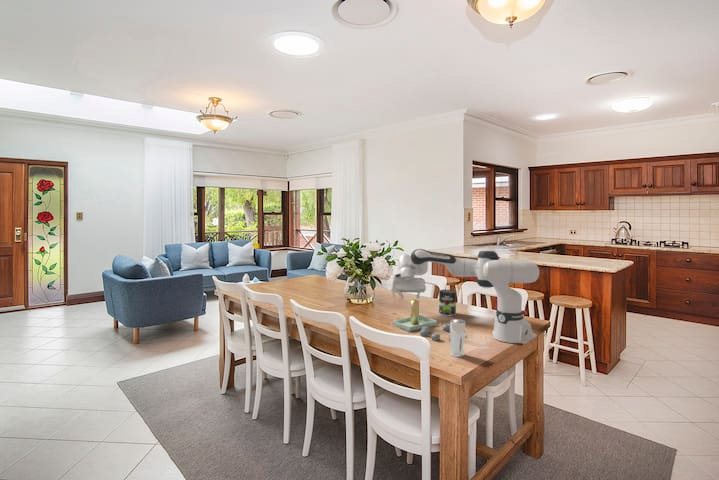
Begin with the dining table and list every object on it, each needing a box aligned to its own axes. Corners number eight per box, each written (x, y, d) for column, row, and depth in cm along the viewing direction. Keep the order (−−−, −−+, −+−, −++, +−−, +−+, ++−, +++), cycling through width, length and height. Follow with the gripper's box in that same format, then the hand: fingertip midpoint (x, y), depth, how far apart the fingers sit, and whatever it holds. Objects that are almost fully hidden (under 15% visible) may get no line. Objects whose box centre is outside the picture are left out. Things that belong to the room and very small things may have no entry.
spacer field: (440, 326, 207) (440, 322, 207) (471, 337, 189) (471, 332, 189) (414, 333, 196) (414, 328, 196) (444, 345, 179) (445, 340, 179)
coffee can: (455, 316, 226) (455, 293, 225) (437, 315, 229) (438, 292, 228) (456, 312, 236) (456, 290, 235) (439, 311, 239) (439, 289, 238)
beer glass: (464, 358, 163) (465, 324, 162) (447, 356, 166) (448, 322, 164) (466, 352, 170) (466, 320, 168) (450, 350, 172) (450, 318, 171)
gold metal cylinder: (415, 322, 213) (415, 299, 212) (420, 324, 209) (420, 301, 208) (409, 323, 210) (409, 300, 209) (414, 325, 207) (414, 302, 206)
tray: (419, 319, 221) (419, 315, 221) (436, 325, 209) (436, 320, 209) (392, 325, 210) (392, 320, 210) (409, 332, 198) (409, 327, 198)
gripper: (423, 281, 232) (426, 300, 223) (389, 281, 230) (392, 300, 221) (425, 275, 227) (428, 294, 218) (391, 275, 226) (393, 295, 217)
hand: (409, 297), depth 220 cm, fingers open, 8 cm apart
